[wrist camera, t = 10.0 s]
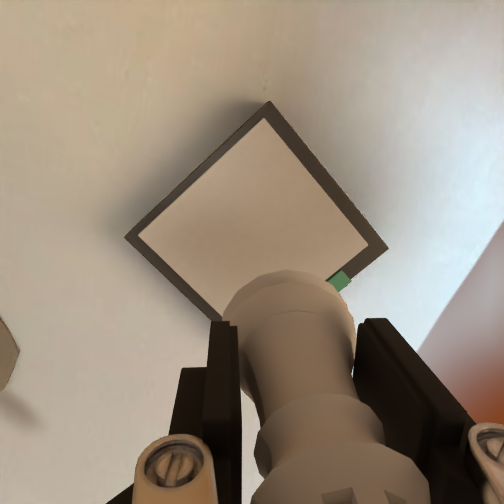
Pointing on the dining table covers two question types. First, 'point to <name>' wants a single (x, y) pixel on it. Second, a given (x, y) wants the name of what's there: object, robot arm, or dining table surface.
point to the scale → (255, 219)
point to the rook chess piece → (312, 399)
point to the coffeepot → (6, 355)
